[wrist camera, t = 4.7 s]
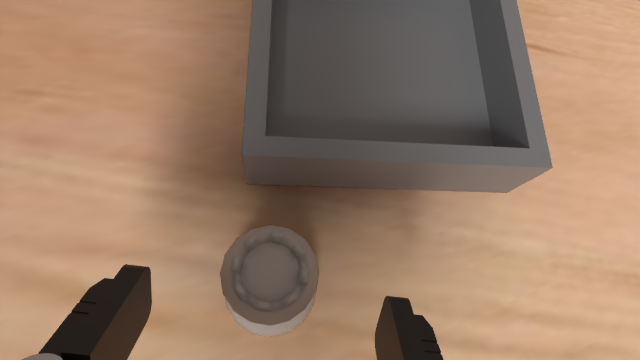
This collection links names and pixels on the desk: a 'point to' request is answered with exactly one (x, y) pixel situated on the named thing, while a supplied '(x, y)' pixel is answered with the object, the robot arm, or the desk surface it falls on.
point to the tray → (391, 96)
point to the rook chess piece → (269, 280)
